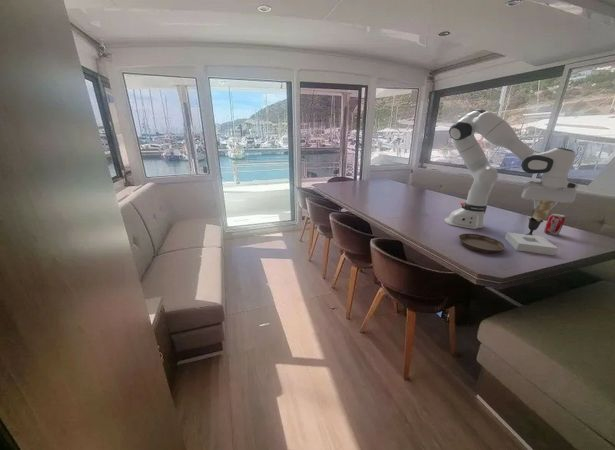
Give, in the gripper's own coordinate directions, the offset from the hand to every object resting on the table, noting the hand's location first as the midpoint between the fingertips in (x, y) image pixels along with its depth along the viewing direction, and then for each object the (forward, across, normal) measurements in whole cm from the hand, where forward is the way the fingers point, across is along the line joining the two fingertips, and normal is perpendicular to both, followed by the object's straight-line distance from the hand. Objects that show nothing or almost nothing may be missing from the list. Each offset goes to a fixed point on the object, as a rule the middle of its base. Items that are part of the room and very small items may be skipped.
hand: (542, 209), depth 125 cm
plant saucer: (+22, -25, -9) cm, 34 cm away
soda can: (+21, +22, +28) cm, 41 cm away
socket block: (+21, 0, 0) cm, 21 cm away
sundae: (+21, +8, +19) cm, 29 cm away
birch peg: (+5, 0, 0) cm, 5 cm away
